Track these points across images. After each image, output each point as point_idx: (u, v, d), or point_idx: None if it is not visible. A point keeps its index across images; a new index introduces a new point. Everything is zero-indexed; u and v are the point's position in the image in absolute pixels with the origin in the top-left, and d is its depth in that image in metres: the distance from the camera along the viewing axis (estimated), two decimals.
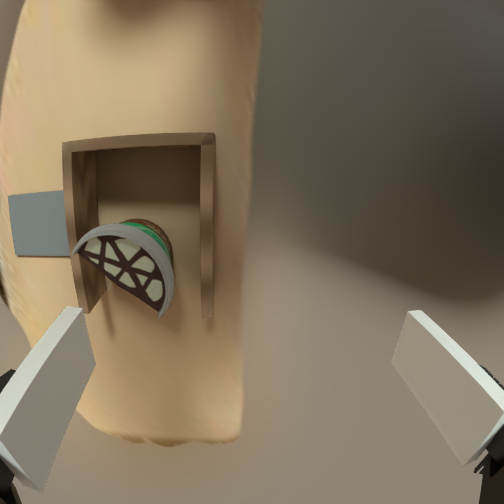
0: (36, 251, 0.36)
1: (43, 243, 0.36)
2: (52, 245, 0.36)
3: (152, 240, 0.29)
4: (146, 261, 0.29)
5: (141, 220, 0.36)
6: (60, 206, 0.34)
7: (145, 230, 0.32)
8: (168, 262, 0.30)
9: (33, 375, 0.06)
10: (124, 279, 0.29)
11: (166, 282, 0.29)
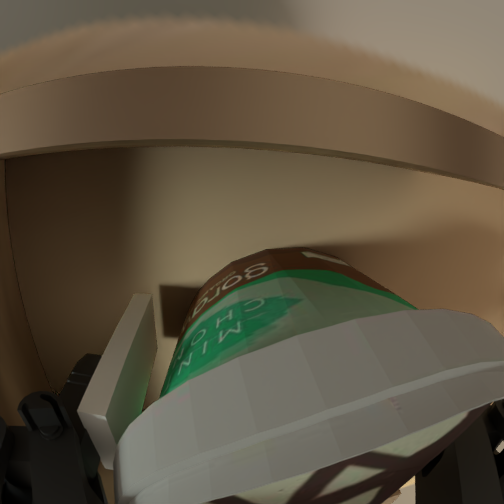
0: None
1: None
2: None
3: (143, 425, 0.05)
4: None
5: None
6: None
7: (168, 373, 0.08)
8: (275, 361, 0.04)
9: (124, 354, 0.08)
10: None
11: (410, 410, 0.03)
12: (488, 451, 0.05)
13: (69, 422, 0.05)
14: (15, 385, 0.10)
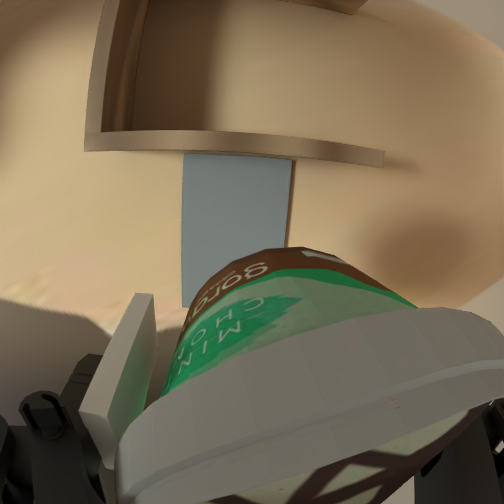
0: None
1: (263, 248, 0.27)
2: (267, 229, 0.27)
3: (144, 425, 0.05)
4: None
5: None
6: (206, 203, 0.25)
7: (169, 373, 0.08)
8: (275, 360, 0.04)
9: (126, 354, 0.08)
10: None
11: (409, 408, 0.03)
12: (487, 451, 0.05)
13: (70, 422, 0.05)
14: (124, 89, 0.19)
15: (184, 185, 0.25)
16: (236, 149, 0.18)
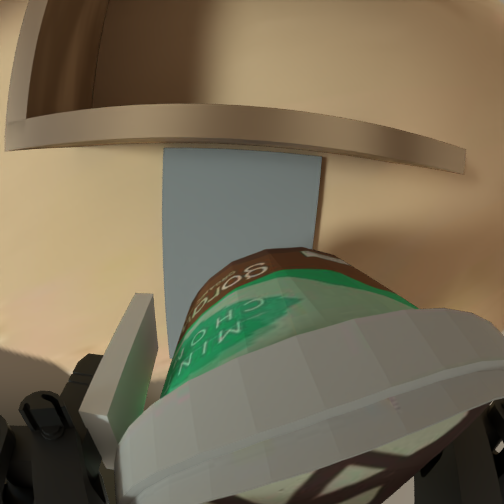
0: None
1: None
2: None
3: (144, 425, 0.05)
4: None
5: None
6: (198, 221, 0.17)
7: (169, 373, 0.08)
8: (275, 361, 0.04)
9: (126, 354, 0.08)
10: None
11: (409, 409, 0.03)
12: (487, 451, 0.05)
13: (71, 422, 0.05)
14: (76, 57, 0.11)
15: (164, 194, 0.17)
16: (245, 136, 0.10)
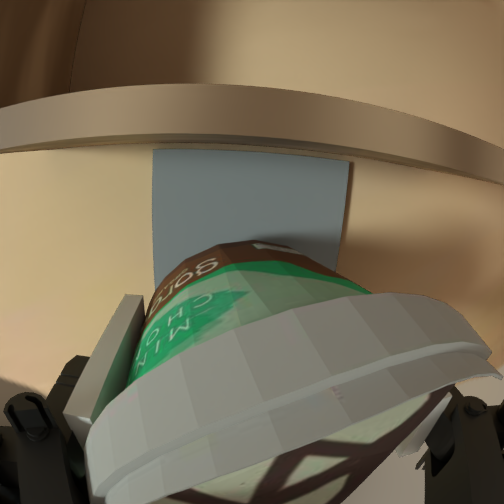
0: None
1: None
2: None
3: (102, 427, 0.04)
4: None
5: None
6: (197, 240, 0.14)
7: (129, 375, 0.08)
8: (214, 355, 0.04)
9: (112, 356, 0.08)
10: None
11: (353, 399, 0.03)
12: (496, 451, 0.04)
13: (54, 423, 0.05)
14: (47, 40, 0.08)
15: (154, 207, 0.13)
16: (264, 131, 0.07)
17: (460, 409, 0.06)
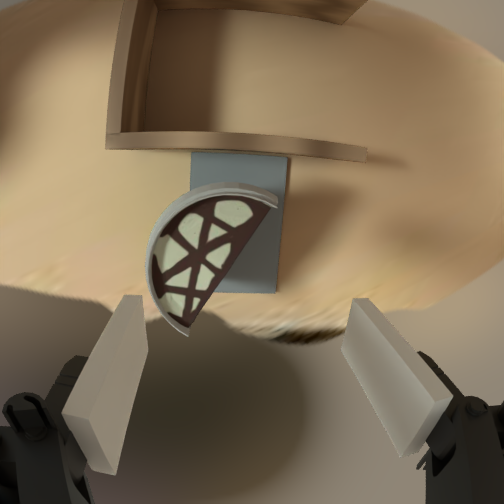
0: (273, 253, 0.31)
1: (262, 236, 0.30)
2: (266, 219, 0.30)
3: (160, 217, 0.21)
4: (187, 225, 0.20)
5: None
6: None
7: None
8: (190, 192, 0.20)
9: (111, 357, 0.08)
10: (217, 260, 0.21)
11: (213, 193, 0.19)
12: (497, 450, 0.04)
13: (53, 423, 0.05)
14: (138, 95, 0.23)
15: (191, 180, 0.28)
16: (237, 147, 0.21)
17: (461, 409, 0.06)
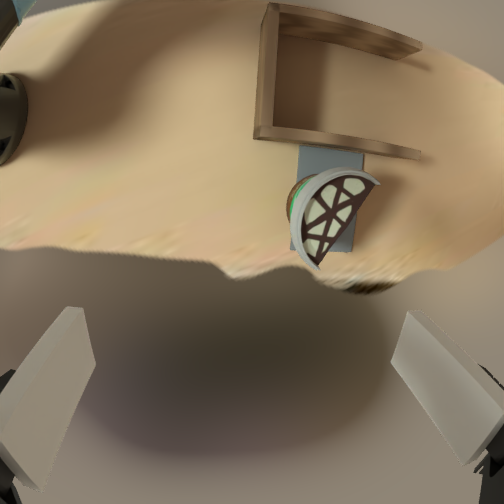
0: (351, 221, 0.41)
1: None
2: None
3: (306, 186, 0.31)
4: (326, 192, 0.30)
5: (288, 203, 0.38)
6: None
7: (297, 196, 0.34)
8: (326, 171, 0.30)
9: (33, 375, 0.06)
10: (343, 216, 0.31)
11: (346, 173, 0.29)
12: None
13: None
14: None
15: (299, 165, 0.38)
16: (349, 145, 0.31)
17: None
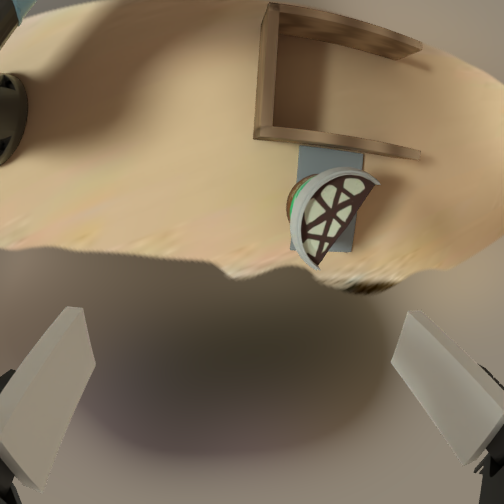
0: (351, 221, 0.41)
1: None
2: None
3: (305, 186, 0.31)
4: (326, 192, 0.30)
5: (288, 203, 0.38)
6: None
7: (297, 196, 0.34)
8: (326, 171, 0.30)
9: (33, 375, 0.06)
10: (343, 216, 0.31)
11: (346, 173, 0.29)
12: None
13: None
14: None
15: (299, 165, 0.38)
16: (349, 145, 0.31)
17: None
